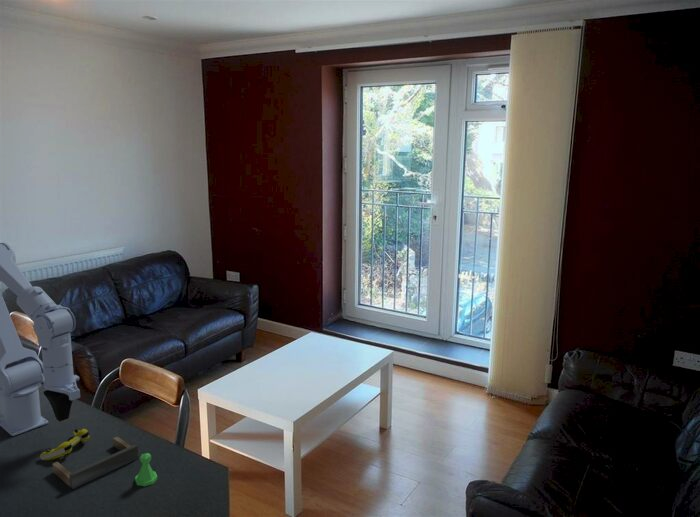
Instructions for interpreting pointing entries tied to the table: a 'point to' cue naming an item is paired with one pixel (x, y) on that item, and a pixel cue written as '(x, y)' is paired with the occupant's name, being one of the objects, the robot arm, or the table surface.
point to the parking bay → (98, 465)
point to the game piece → (145, 472)
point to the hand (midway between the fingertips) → (62, 419)
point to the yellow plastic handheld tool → (66, 446)
